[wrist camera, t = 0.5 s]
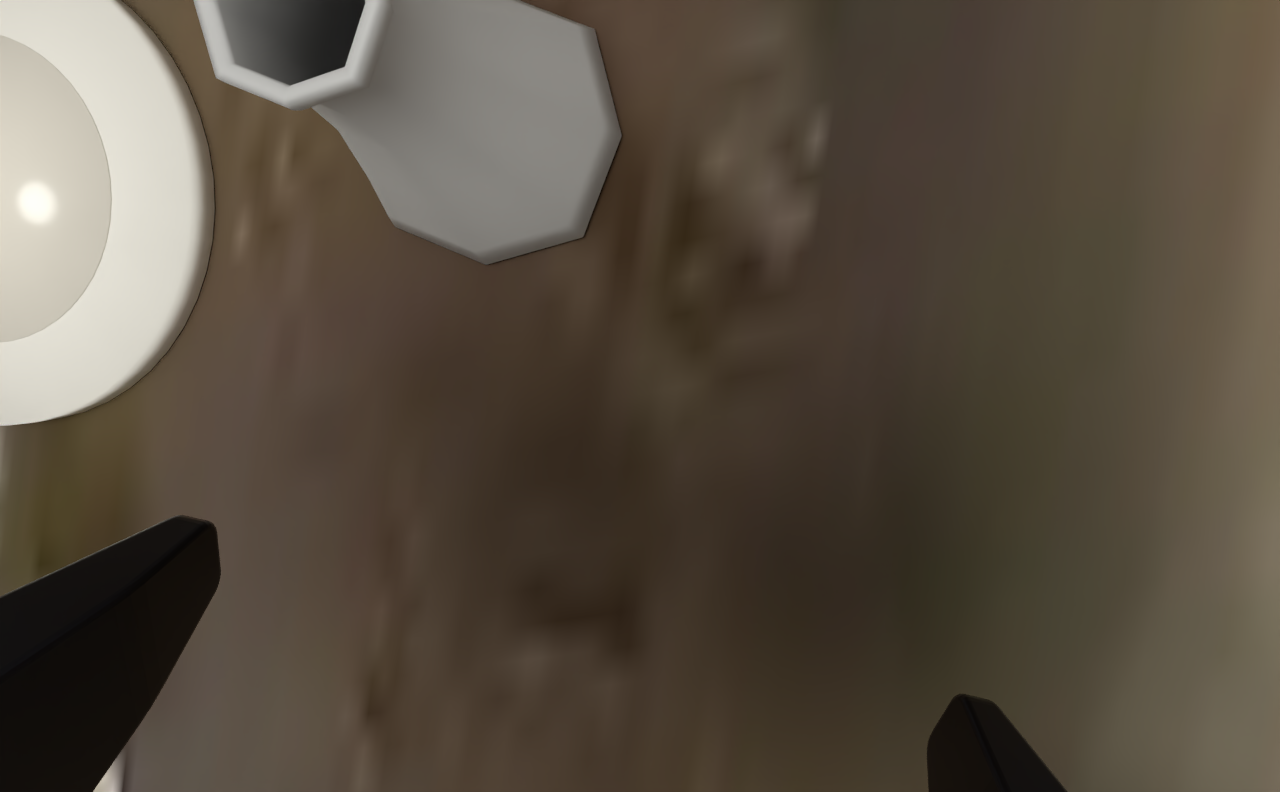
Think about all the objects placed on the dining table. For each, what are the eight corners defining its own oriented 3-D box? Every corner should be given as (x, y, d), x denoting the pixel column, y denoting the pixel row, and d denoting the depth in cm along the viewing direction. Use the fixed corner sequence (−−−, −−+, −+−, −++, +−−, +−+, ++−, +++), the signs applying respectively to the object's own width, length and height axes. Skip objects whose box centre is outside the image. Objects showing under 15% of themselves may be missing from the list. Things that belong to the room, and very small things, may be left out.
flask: (374, -6, 22) (72, -248, 13) (631, -3, 21) (520, -263, 12) (368, 258, 23) (82, 224, 14) (615, 273, 22) (499, 247, 12)
